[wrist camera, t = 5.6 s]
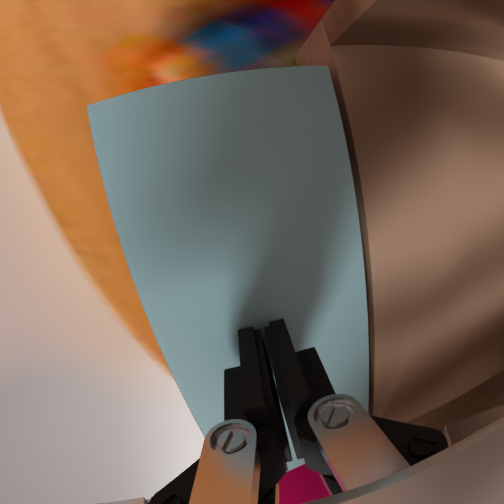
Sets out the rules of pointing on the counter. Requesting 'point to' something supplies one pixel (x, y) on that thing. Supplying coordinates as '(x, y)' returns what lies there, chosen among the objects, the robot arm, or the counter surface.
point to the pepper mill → (301, 486)
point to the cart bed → (425, 195)
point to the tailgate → (238, 223)
